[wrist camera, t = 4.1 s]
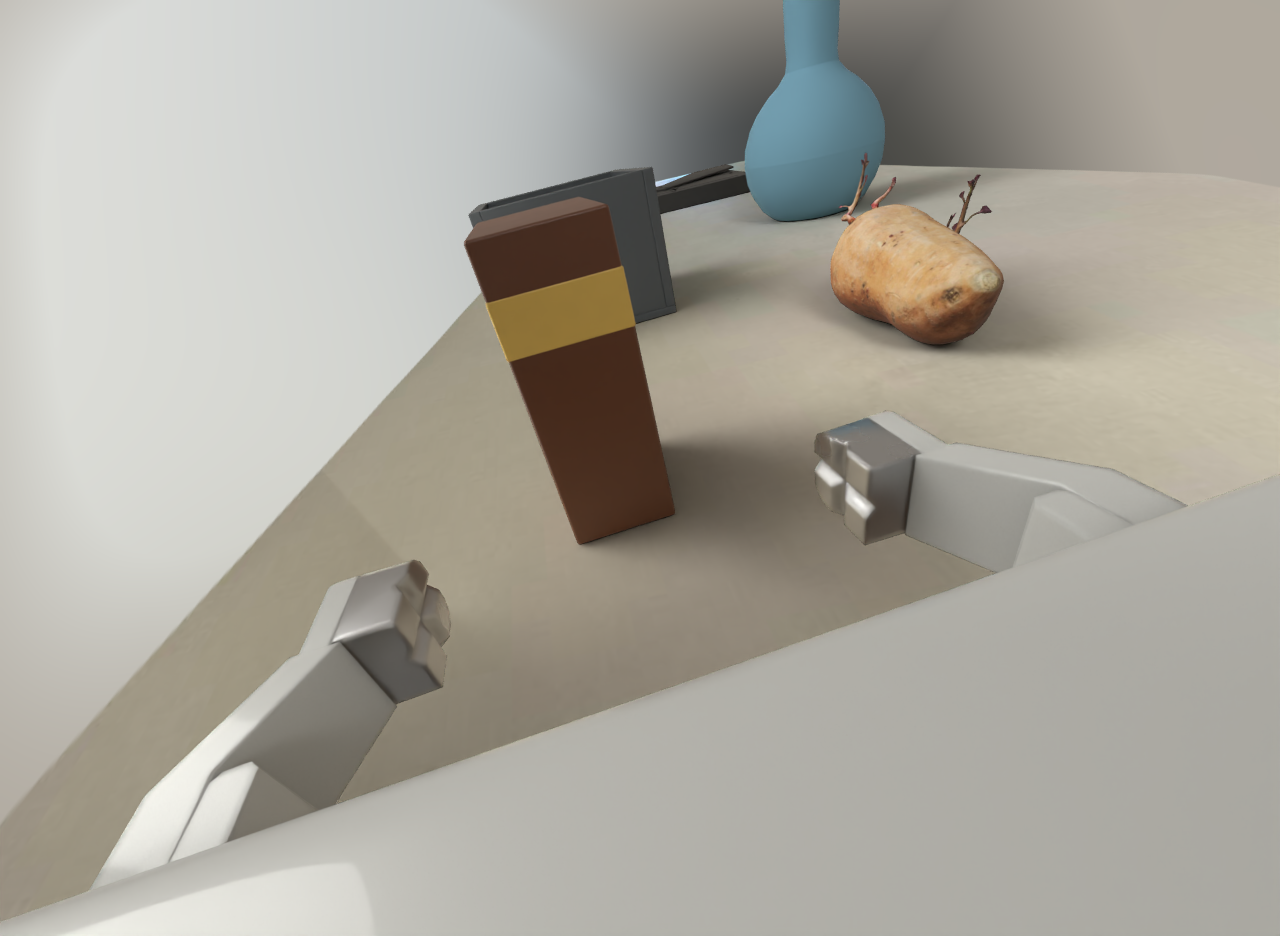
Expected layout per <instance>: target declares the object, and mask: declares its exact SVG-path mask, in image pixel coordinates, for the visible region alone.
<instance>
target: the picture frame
mask: <svg viewBox="0 0 1280 936" xmlns="http://www.w3.org/2000/svg"><path fill="white" fill-rule="evenodd" d="M732 168H733V166H730V165H721V166H717V167H713V168H709V169H705V170H702V171H697V172H694V173H691V174H689V175H687V176H684V177H682V178H679V179H677V180H675V181H672V182H670V183H667V184H665V185H663V186H659V187H656V191H657V197H658V203H659V209H660V214H661V213H665V212H669V211H673V210H677V209H681V208H685V207H689V206H693V205H697V204H702V203H706V202H710V201H714V200H718V199H722V198H726V197H730V196H734V195H738V194H742V193H747V192H751V191H750V189H749V187H748V185H747V178H746V172H742V171H733V170H729V169H732Z"/></svg>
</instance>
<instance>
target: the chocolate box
mask: <svg viewBox="0 0 1280 936" xmlns="http://www.w3.org/2000/svg"><path fill="white" fill-rule="evenodd" d="M464 246H465V249H466V252H467V254H468V257H469V260H470V262H471V265H472V268H473V270H474V272H475V275H476V278H477V280H478V283H479V286H480V288H481V291H482V294H483V296H484V299H485V302H486V308H487V310H488V313H489V316H490V318H491V321H492V324H493V326H494V329H495V331H496V334H497V337H498V339H499V342H500V344H501V347H502V350H503V352H504V355H505V357H506V360H507V361H508V362H509V365H510V367H511V370H512V372H513V375H514V378H515V380H516V383H517V386H518V388H519V391H520V393H521V396H522V399H523V401H524V404H525V407H526V409H527V412H528V414H529V417H530V420H531V422H532V425H533V427H534V430H535V433H536V435H537V438H538V441H539V443H540V446H541V448H542V451H543V454H544V456H545V459H546V462H547V464H548V467H549V469H550V472H551V475H552V477H553V480H554V483H555V485H556V488H557V490H558V493H559V496H560V498H561V501H562V504H563V506H564V509H565V511H566V514H567V517H568V519H569V522H570V525H571V527H572V530H573V532H574V535H575V538H576V540H577V543H578V544H583V543H586V542H589V541H592V540H596V539H599V538H602V537H605V536H608V535H611V534H614V533H617V532H620V531H624V530H627V529H630V528H633V527H636V526H639V525H642V524H645V523H648V522H652V521H655V520H658V519H661V518H664V517H667V516H670V515H673V514H675V508H674V503H673V499H672V494H671V490H670V485H669V480H668V476H667V471H666V467H665V462H664V457H663V453H662V448H661V444H660V439H659V434H658V430H657V425H656V421H655V416H654V411H653V407H652V402H651V398H650V393H649V388H648V384H647V379H646V375H645V370H644V366H643V361H642V356H641V352H640V347H639V343H638V338H637V333H636V329H635V324H636V323H635V318H634V314H633V309H632V304H631V300H630V295H629V291H628V286H627V281H626V277H625V272H624V267H623V266H622V264H621V260H620V255H619V251H618V246H617V241H616V237H615V232H614V228H613V223H612V218H611V214H610V209H609V206H608V205H607V204H604V203H600V202H597V201H593V200H589V199H586V198H582V197H576V198H572V199H568V200H564V201H560V202H556V203H552V204H549V205H545V206H541V207H537V208H533V209H529V210H526V211H522V212H518V213H514V214H510V215H506V216H503V217H499V218H495V219H491V220H487V221H483V222H479V223H477V224H476V225H475V227H474V228H473V230H472V231H471V233H470V234H469V236H468V237H467V239H466V240H465V241H464Z"/></svg>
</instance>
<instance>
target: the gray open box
mask: <svg viewBox="0 0 1280 936" xmlns="http://www.w3.org/2000/svg"><path fill="white" fill-rule="evenodd" d="M576 197H582V198H586V199H589V200H593V201H597V202H600V203H604V204H607V205H608V206H609V209H610V214H611V218H612V223H613V228H614V232H615V237H616V241H617V246H618V251H619V255H620V260H621V264H622V266H623V267H624V272H625V277H626V281H627V286H628V291H629V295H630V300H631V304H632V309H633V314H634V318H635V323H639V322H642V321H646V320H649V319H653V318H656V317H660V316H663V315H667V314H670V313H674V312H676V305H675V300H674V294H673V288H672V282H671V276H670V270H669V264H668V258H667V252H666V246H665V239H664V233H663V227H662V221H661V215H660V209H659V203H658V197H657V191H656V185H655V179H654V174H653V168H652V167H647V168H633V169H619V170H613V171H610V172H606V173H602V174H598V175H594V176H590V177H586V178H582V179H578V180H574V181H571V182H567V183H563V184H559V185H555V186H551V187H547V188H543V189H539V190H536V191H532V192H528V193H524V194H520V195H516V196H512V197H508V198H504V199H501V200H497V201H493V202H489V203H485V204H481V205H479V206H477V207H476V208H475V209H474V210H473V211H472V212H471V213H470V214H469V218H470V220H471V223H472V226H473V228H474V227H475V225H476V224H477V223H479V222H483V221H487V220H491V219H495V218H499V217H503V216H506V215H510V214H514V213H518V212H522V211H526V210H529V209H533V208H537V207H541V206H545V205H549V204H552V203H556V202H560V201H564V200H568V199H572V198H576Z"/></svg>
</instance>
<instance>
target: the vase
mask: <svg viewBox="0 0 1280 936" xmlns="http://www.w3.org/2000/svg"><path fill="white" fill-rule="evenodd" d="M839 5H840V0H783V13H784V31H785V32H784V33H785V49H786V61H787V64H786V72H785V76H784V78H783V79H782V81H781V83H780V85H779V86H778V88H777V89H776V90H775V91H774V93H773V94H772V95H771V96H770V97H769V99H768V100H767V101H766V103H765V105H764V106H763V108H762V109H761V111H760V112H759V114H758V115H757V117H756V119H755V122H754V124H753V127H752V129H751V131H750V134H749V138H748V142H747V147H746V150H745V172H746V178H747V185H748V187H749V189H750V191H751V194H752V196H753V198H754V200H755V201H756V202H757V204H758V205H759V207H760V208H761V209H762V211H763V212H764V213H766V214H767V215H768V216H770V217H771V218H773V219H775V220H778V221H798V220H807V219H813V218H819V217H823V216H827V215H831V214H835V213H838V212H841V211H844V210H846V209H848V207H841V208H839V207H840V205H841V206H851V205H852V204H853V202H854V199H855V196H856V193H857V190H858V186H859V182H860V178H861V174H862V169H863V165H862V163H861V159H862V160H864V154H865V153H867V160H868V161H869V163H868V165H867V167H866V168H865V173H864V178H865V176H866V175H868V177H867V180H866V182H865V179H864V180H863V183H862V186H863V184H864V182H865V185H864V187H863V189H862V192H861V196H860V198H861V197H862V196H863V195H864V194H865V193H866V191H867V189H868V187H869V186H870V184H871V182H872V180H873V179H874V177H875V175H876V173H877V170H878V167H879V165H880V162H881V160H882V155H883V148H884V141H885V127H884V118H883V115H882V112H881V108H880V105H879V102H878V100H877V99H876V97H875V95H874V94H873V92H872V90H871V89H870V88H869V87H868V85H866V84H865V83H864V82H863V81H862V80H861V79H860V78H859V77H858V76H857V75H855V74H854V73H852V72H851V71H849V70H847V69H846V68H845V67H844V65H843V64H842V63H841V62H840V61H839V57H838V50H837V46H838V30H839ZM861 188H862V187H861ZM860 198H859V199H860Z"/></svg>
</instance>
